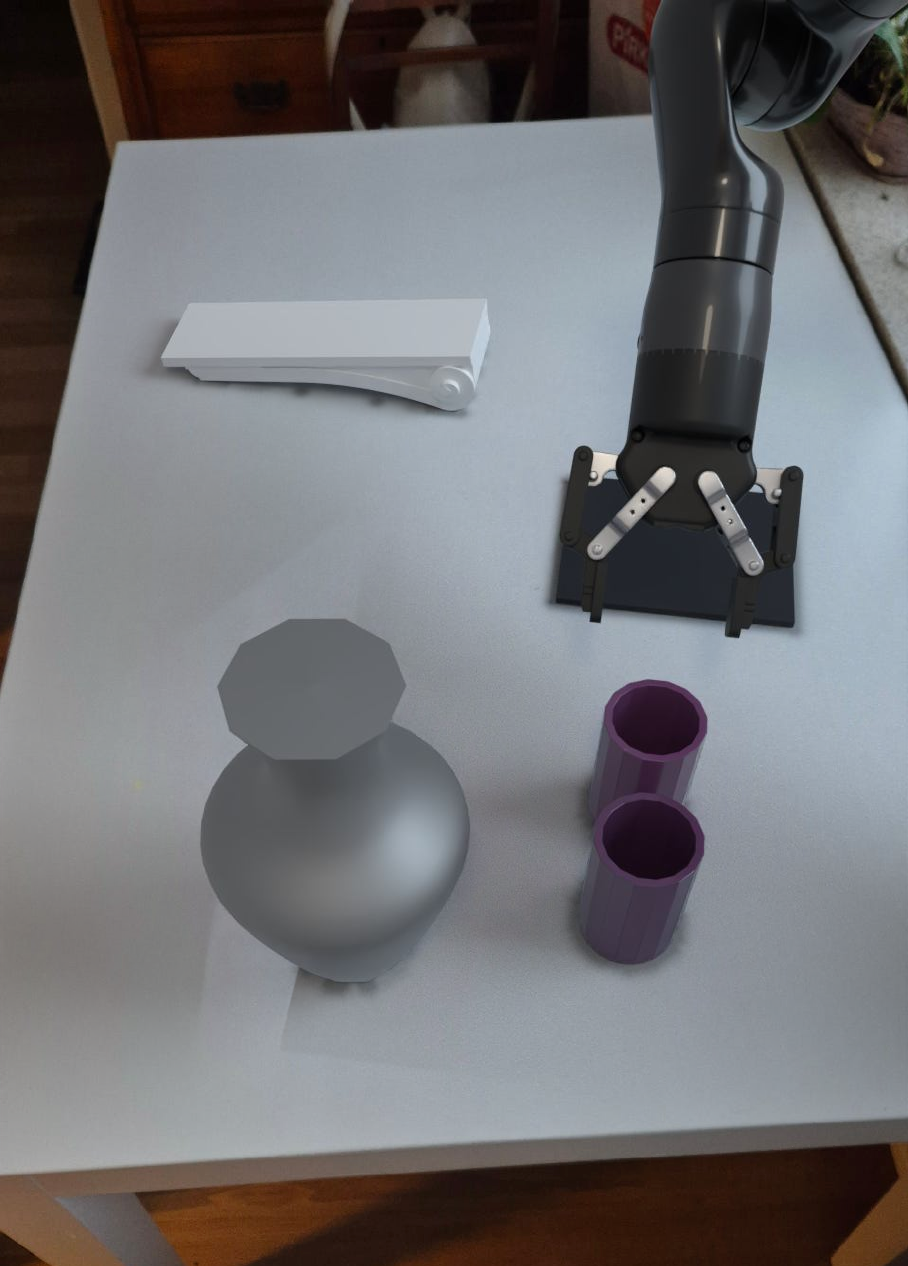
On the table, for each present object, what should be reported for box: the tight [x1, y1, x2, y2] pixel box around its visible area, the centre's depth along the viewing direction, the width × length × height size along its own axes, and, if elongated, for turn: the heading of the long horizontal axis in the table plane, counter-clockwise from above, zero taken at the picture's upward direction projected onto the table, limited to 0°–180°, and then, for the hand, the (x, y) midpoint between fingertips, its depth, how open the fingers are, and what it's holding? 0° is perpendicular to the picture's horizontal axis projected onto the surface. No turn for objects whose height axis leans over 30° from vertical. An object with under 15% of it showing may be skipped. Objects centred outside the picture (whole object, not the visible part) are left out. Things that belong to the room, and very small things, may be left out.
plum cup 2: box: [577, 792, 706, 965], centre depth 68 cm, size 6×6×10 cm
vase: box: [199, 618, 471, 983], centre depth 61 cm, size 14×14×25 cm
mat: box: [555, 477, 796, 628], centre depth 90 cm, size 18×14×1 cm
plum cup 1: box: [588, 678, 709, 827], centre depth 73 cm, size 6×6×10 cm
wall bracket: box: [160, 297, 491, 412], centre depth 102 cm, size 10×7×28 cm
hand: (663, 629), depth 71 cm, fingers open, 8 cm apart
